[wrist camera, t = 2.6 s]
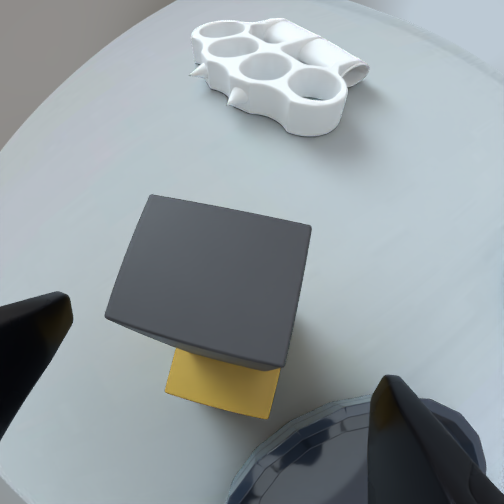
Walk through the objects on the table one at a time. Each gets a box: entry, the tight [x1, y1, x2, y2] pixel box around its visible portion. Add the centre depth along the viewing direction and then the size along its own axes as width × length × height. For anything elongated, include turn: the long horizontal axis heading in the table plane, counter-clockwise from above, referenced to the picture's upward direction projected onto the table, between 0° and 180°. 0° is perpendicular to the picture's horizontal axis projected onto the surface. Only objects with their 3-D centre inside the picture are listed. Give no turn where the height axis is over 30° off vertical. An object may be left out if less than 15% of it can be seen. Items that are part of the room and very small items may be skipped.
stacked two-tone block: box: [105, 195, 312, 419], centre depth 11 cm, size 6×4×13 cm
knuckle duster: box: [188, 18, 370, 136], centre depth 25 cm, size 3×18×15 cm
